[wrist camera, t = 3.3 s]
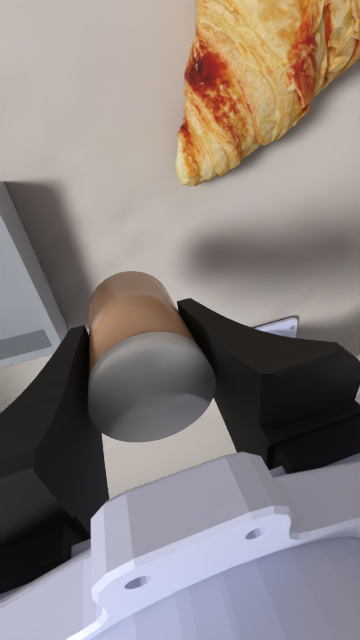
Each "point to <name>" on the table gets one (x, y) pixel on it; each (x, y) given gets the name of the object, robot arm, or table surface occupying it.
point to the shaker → (143, 362)
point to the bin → (24, 295)
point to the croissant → (257, 75)
